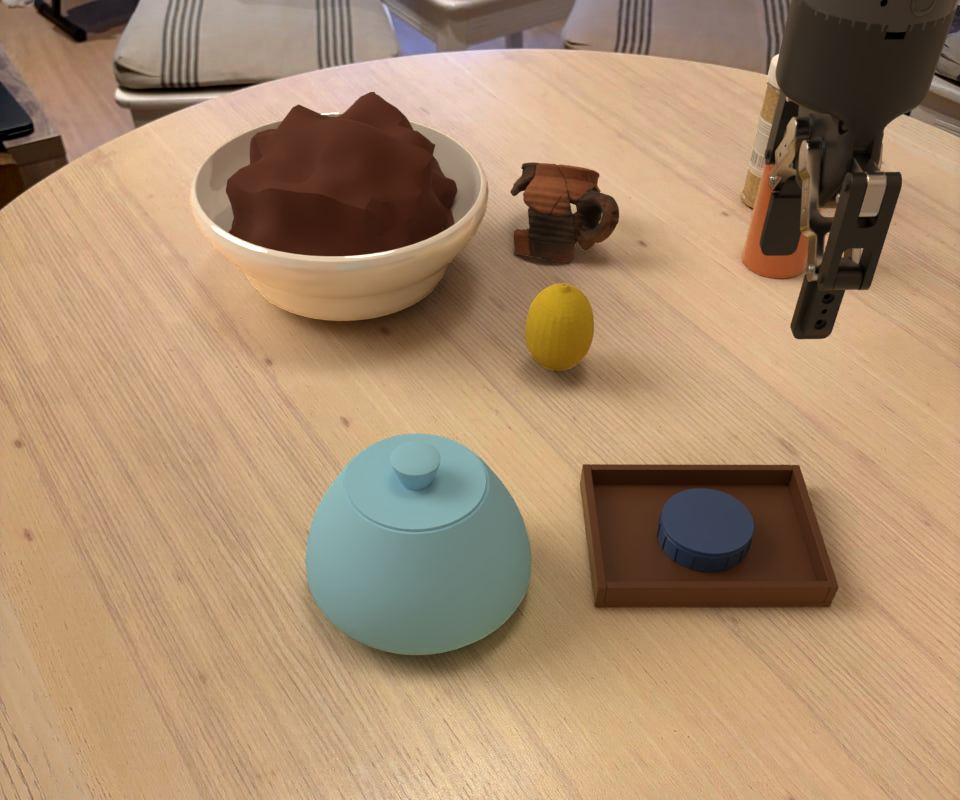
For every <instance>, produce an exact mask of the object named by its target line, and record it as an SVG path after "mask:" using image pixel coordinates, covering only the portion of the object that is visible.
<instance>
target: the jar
mask: <svg viewBox="0 0 960 800" xmlns="http://www.w3.org/2000/svg"><path fill="white" fill-rule="evenodd" d="M773 167H774V165H766V163H765V164H764V168H763V172H762V176H761V180H760V184H759V188H758V193H757V197H756V201H755V205H754V209H753V208H752V209H753V210H752V213H751V217H750V222H749V226H748V229H747V234H746V237H745V242H744V246H743V250H742V254H741V260H742V263H743V264H744V266H745V267H746V268H747V269H748V270H750V272H753V273H755V274H757V275H759V276H762V277H765V278H770V279H790V278H795V277H797V276H799V275H800V274H802V273H803V272H804V270H806V268H807V256H808V238H807V237H806V236H805V235H803V234H802V233H801V236H800V240H799V244H798V247H797V250H796V251H795V252H794V253H793V254H791V255H788V256H766V255H764V254H763V253H762V251H761V248H760V246H759V242H760V238H761V234H762V230H763V226H764V221H765V217H766V213H767V209H768V205H769V201H770V196H771V192H774V191H770V189H769V184H768V179H769V176H770V173H771V171H772V169H773ZM818 210H819V213H820V214H821V215H822V213H823V211H824V209H819V208H818Z"/></svg>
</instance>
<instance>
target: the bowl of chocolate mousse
mask: <svg viewBox="0 0 960 800" xmlns="http://www.w3.org/2000/svg"><path fill="white" fill-rule="evenodd" d="M488 200H489V183H488V179H487V176H486V172H485V170H484V168H483V166H482V164H481V162H480V161H479V159H478V158H477V157H476V156H475V154H474V153H473V152H472V151H471V150H470V149H468V148H467V147H466V146H465V145H464V143H462V142H460V141H459V140H458V139H456V138H454V137H453V136H451V135H449V134H447V133H446V132H443V131H441V130H440V129H437V128H436V127H433V126H429V125H427V124H424V123H421V122H418V121H415V120H411V119H408V117H407V116H406V115H405V114H404V113H403V112H402V111H401V110H400V109H399V108H398V107H397V106H394V105H393V104H391V103H390V102H388V101H387V100H386V99H384V98H383V97H382V96H381V95H379V94H378V93H377V94H376V92H375V91H369V92H367V93H365V94H363V95H361V96H359V98H357V99H356V100H355V101H354V102H353V103H352V104H351V105H350V106H349V107H348V108H347V109H346V110H345V111H336V112H335V111H334V112H317V111H315V110H313V109H310V108H308V107H306V106H303V105H301V104H299V103H298V104H296V105H294V106H292V108H291V109H290V110H289V111H288V113H287V114H286V116H285V117H284V118H281V119H277V120H273V121H269V122H266V123H263V124H260V125H257V126H253V127H252V128H249V129H247V130H245V131H242V132H240V133H238V134H236V135H234V136H233V137H231V138H229V139H227V140H226V141H224V142H222V143H221V144H220V145H219V146H217V147H216V148H215V149H213V150H212V151H211V152H210V153H209V154H207V156H206V157H205V158H204V159H203V160H202V162H201V163H200V164H199V166H198V167H197V169H196V170H195V172H194V174H193V176H192V180H191V184H190V190H189V204H190V208H191V213H192V217H193V219H194V222H195V224H196V226H197V228H198V230H199V231H200V233H201V234H202V235H203V236H204V238H205V239H206V240H207V242H208V243H209V244H210V246H211V247H212V248H213V249H214V250H215V251H216V252H217V253H218V254H219V255H220V256H221V257H222V258H223V259H224V260H225V261H227V262H228V263H229V264H230V265H232V266H233V267H234V268H235V269H237V270H238V271H240V272H241V273H242V274H243V275H244V276H245V278H246V279H247V281H248V282H249V283H250V284H251V286H252V288H254V290H256V291H257V293H258V295H260V296H261V297H262V298H263V299H265V300H266V301H267V302H268V303H270V304H272V305H273V306H275V307H277V308H279V309H281V310H284V311H286V312H289V313H290V314H294V315H297V316H300V317H305V318H310V319H315V320H322V321H336V322H350V321H351V322H352V321H363V320H370V319H376V318H380V317H385V316H388V315H389V316H390V315H392V314H395V313H398V312H401V311H403V310H405V309H407V308H410V307H412V306H413V305H415V304H418V303H419V302H420V301H422V300H423V299H425V298H426V297H427V296H429V295H430V294H431V293H432V292H433V291H434V290H435V288H437V286H438V285H439V284H440V282H441V280H442V279H443V277H444V275H445V274H446V272H447V270H448V268H449V267H450V263H451V262H452V261H453V260H454V259H455V258H456V257H457V256H458V255H459V254H460V253H461V252H462V251H463V250H464V249H465V248H466V246H467V245H468V244H469V243H470V242H471V240H472V239H473V237H474V236H475V235H476V233H477V231H478V229H479V227H480V225H481V224H482V221H483V220H484V217H485V215H486V212H487V210H488V209H487V208H488V203H489V201H488Z"/></svg>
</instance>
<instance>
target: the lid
mask: <svg viewBox="0 0 960 800" xmlns="http://www.w3.org/2000/svg"><path fill="white" fill-rule="evenodd" d="M658 524H659V526H658V531H657V535H656V537H658V541H659V544H660V546H661V549H662V550H663V551H664V552H665V554H666V555H667V556H668V557H669V558H671V559H672V560H673V561H675V562H676V563H678V564H680V565H682V566H684V567H686V568H689V569H692V570H696V571H702V572H718V571H723V570H727V569H729V568H732V567H733V566H735V565H737V564H738V563H741V560H742V559H743V558H744V557H745V555H746V553H747V552H748V551H749V548H750V545H751V542H752V539H751V538H752V535H753V532H754V521H753V518H752V515H751V513H750V512H749V510H748V509H747V508H746V506H745V505H744V504H743V503H741V502H740V501H739V500H737V499H736V498H734V497H733V496H731V495H729V494H726V493H724V492H721V491H718V490H713V489H706V488H695V489H688V490H684V491H681V492H679V493H677V494H675V495H673V496H672V497H671V498H670V499H669V500H668V501H667V502H666V503H665V505H664V507H663V509H662V511H661V514H660V518H659V523H658Z"/></svg>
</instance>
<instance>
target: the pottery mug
mask: <svg viewBox="0 0 960 800" xmlns="http://www.w3.org/2000/svg"><path fill="white" fill-rule="evenodd" d="M520 169H521V170H522V171H521V176H520V177H518V179H516V180H515V182H514V183H513V186H512V188H511V189H510V192H509V193H510V194H511V196H512V197H516V196H518V195H519V194H520V193H521V192H523V194H522V199H523V203H524V205H525V206H527V207H528V208H527V217H528V228H526V229H523V228H522V229H521V228H516V229H515V230H513V234H512V239H513V252H514V255H518V256H523V257H531V258H538V259H540V260H543V261H544V260H545V261H549V262H556V263H557V262H558V263H571V262H572V259H573V253H574V251H575V249H576V245H577V243H578V245H579V247H580V249H581V250H583V251H584V252H587V251H590V249H591V248H593V246H594V245H595V244H600V243H603V242H604V241H606V240H607V239H609V237H610V236H611V235H612V234H613V232H614V231H615V229H616V227H617V225H618V224H619V221H620V208H619V205H618V203H617V200H616V199H615V198H614V197H613V196H612V195H609V194H606V193H603V192H601V189H600V187H599V185H598V183H599V179H600V173H599V172H598V171H596V170H593V169H591V168H587V167H581V166H577V165H576V166H575V165H569V164H561V163H560V164H559V163H558V164H556V163H547V162H545V163H544V162H534V161H533V162H524V163H522V164H521V167H520ZM572 205H573V206H575V209H576V211H575V212H574V213H573V211H572V207H571V206H572Z"/></svg>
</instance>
